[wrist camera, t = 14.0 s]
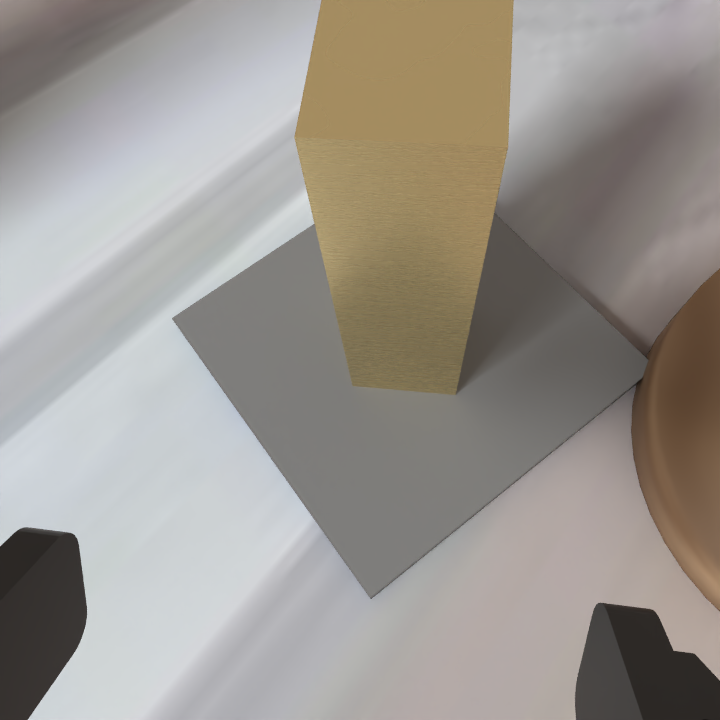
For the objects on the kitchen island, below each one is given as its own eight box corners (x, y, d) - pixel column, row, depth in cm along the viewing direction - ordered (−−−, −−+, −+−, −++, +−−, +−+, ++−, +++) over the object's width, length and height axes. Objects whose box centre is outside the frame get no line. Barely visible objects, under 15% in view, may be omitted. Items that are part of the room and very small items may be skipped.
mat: (177, 325, 24) (171, 318, 23) (427, 159, 26) (427, 149, 25) (371, 598, 19) (370, 597, 19) (649, 373, 22) (655, 366, 21)
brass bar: (352, 386, 22) (294, 137, 10) (364, 295, 23) (323, -10, 12) (455, 395, 21) (508, 146, 10) (461, 302, 22) (513, -7, 11)
